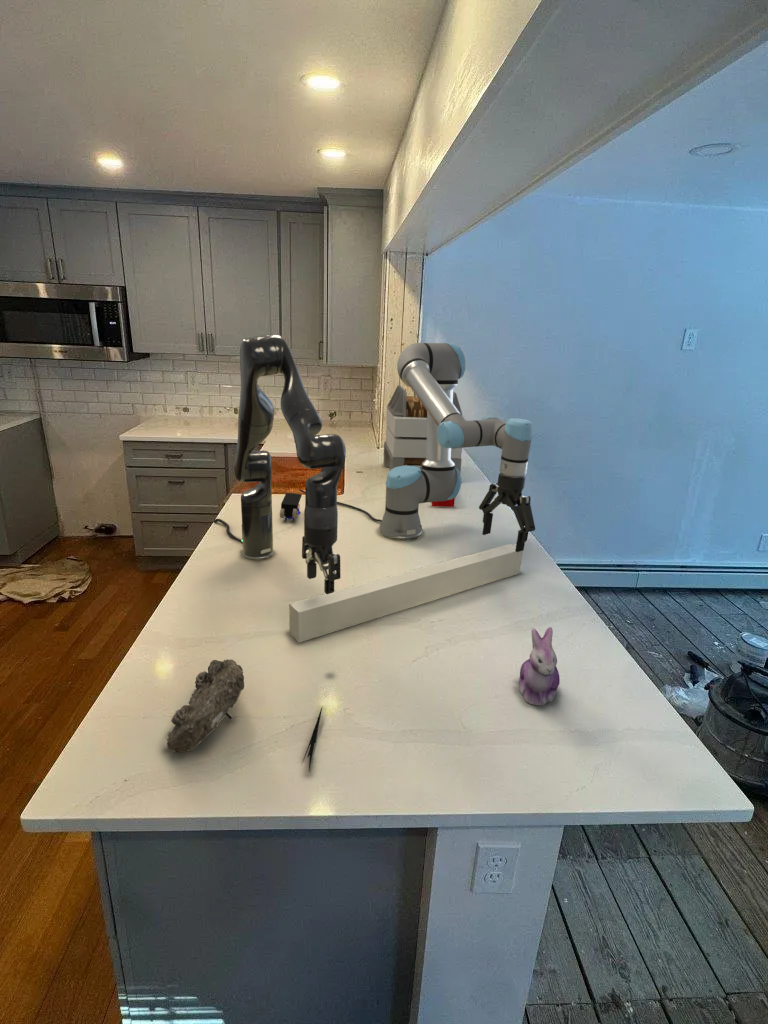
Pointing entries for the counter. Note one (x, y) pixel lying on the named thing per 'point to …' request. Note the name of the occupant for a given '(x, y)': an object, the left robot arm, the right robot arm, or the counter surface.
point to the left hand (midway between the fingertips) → (320, 585)
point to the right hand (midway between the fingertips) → (502, 542)
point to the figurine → (540, 671)
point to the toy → (444, 503)
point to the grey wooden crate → (410, 432)
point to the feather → (313, 740)
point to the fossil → (206, 705)
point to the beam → (400, 592)
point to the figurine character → (290, 506)
